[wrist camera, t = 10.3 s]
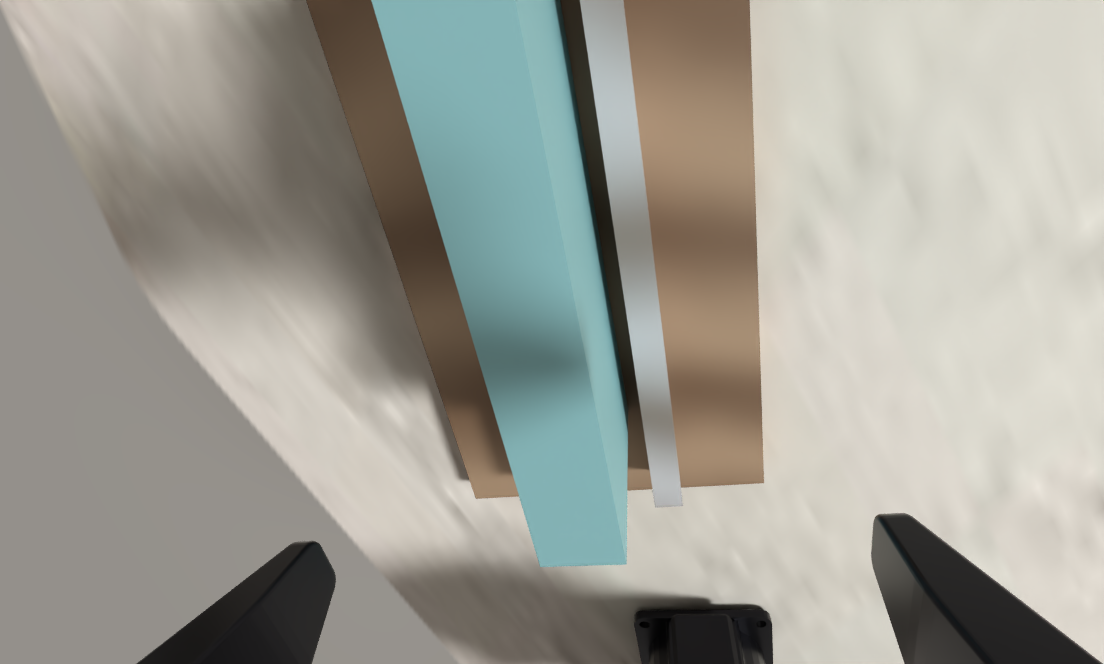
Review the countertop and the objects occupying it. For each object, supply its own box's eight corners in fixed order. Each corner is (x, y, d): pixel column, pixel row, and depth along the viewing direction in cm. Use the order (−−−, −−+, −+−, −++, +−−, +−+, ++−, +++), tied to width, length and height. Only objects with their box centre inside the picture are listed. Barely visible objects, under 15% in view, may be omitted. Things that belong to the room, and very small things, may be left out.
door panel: (628, 410, 21) (626, 564, 15) (566, 415, 22) (540, 566, 15) (557, -15, 15) (505, -47, 9) (473, 6, 15) (368, -11, 9)
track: (758, 465, 23) (775, 522, 20) (481, 482, 25) (463, 534, 23) (733, -256, 13) (759, -329, 10) (284, -117, 15) (213, -147, 13)
